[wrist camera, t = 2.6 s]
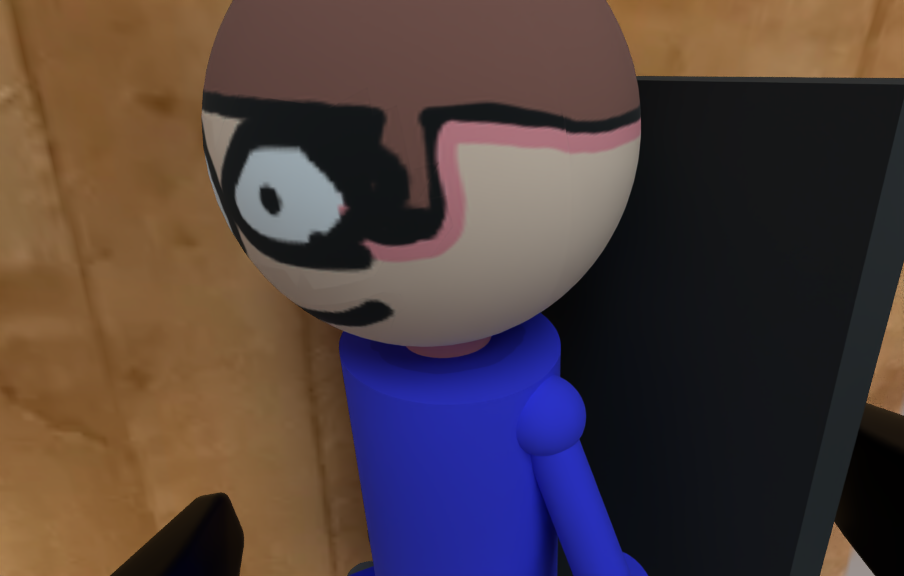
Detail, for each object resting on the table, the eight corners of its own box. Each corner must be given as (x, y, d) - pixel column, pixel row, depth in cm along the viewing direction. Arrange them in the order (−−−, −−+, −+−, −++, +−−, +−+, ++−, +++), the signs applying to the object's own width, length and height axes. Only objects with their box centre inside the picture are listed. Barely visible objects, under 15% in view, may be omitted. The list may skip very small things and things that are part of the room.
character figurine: (366, 586, 15) (284, -30, 10) (630, 581, 15) (701, -50, 10) (286, 1052, 8) (-215, -288, 3) (786, 1051, 8) (1451, -387, 2)
